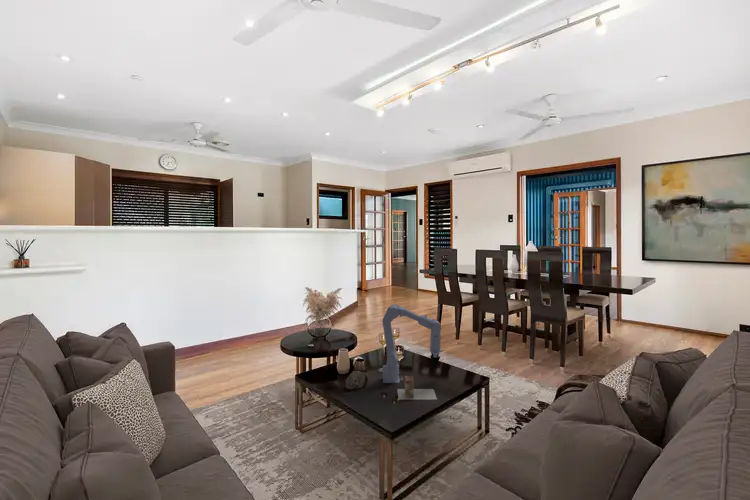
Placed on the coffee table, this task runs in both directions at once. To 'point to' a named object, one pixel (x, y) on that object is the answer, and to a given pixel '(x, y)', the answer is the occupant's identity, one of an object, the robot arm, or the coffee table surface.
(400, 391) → the grey mat
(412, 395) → the wooden block
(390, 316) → the robot arm
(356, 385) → the rock
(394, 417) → the coffee table surface
